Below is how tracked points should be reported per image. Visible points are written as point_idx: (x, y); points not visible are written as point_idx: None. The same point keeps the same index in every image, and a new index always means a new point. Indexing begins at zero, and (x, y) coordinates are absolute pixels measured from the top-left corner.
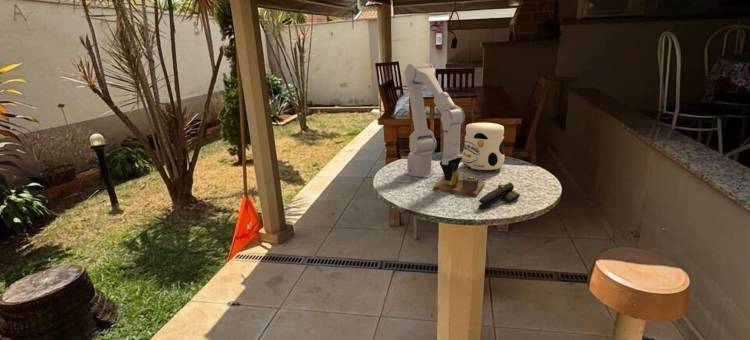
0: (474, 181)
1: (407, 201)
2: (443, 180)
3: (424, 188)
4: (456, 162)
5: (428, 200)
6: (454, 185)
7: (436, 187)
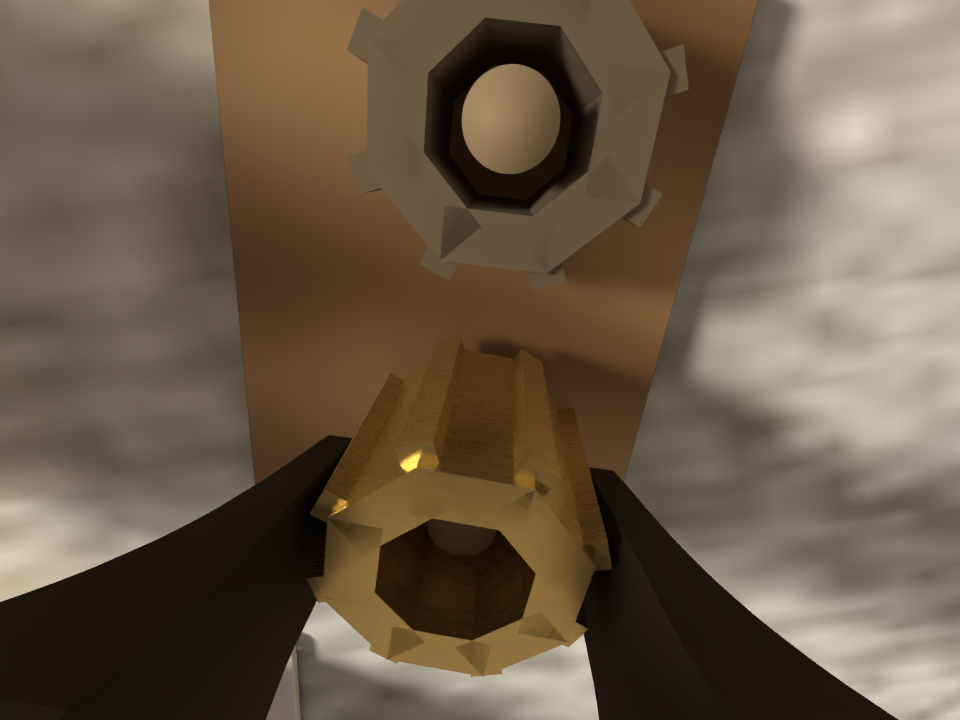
0: (623, 4)
1: (927, 677)
2: None
3: None
4: (202, 667)
5: (901, 540)
6: None
7: None
